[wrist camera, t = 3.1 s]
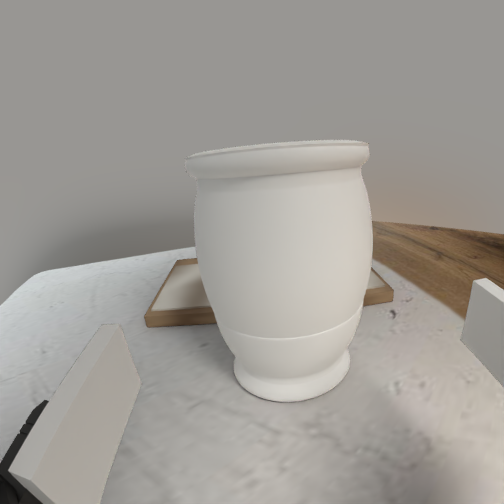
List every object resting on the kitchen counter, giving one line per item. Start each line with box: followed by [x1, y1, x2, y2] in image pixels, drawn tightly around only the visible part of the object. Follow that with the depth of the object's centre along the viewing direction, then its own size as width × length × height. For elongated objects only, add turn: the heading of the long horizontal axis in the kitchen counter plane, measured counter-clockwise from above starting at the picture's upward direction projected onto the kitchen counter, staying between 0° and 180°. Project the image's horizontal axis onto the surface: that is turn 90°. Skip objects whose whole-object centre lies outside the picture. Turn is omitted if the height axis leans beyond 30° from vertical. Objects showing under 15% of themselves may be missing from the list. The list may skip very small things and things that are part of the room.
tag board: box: [144, 258, 394, 327], centre depth 35 cm, size 24×16×4 cm, turn 91°
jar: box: [185, 140, 373, 402], centre depth 19 cm, size 11×10×15 cm
